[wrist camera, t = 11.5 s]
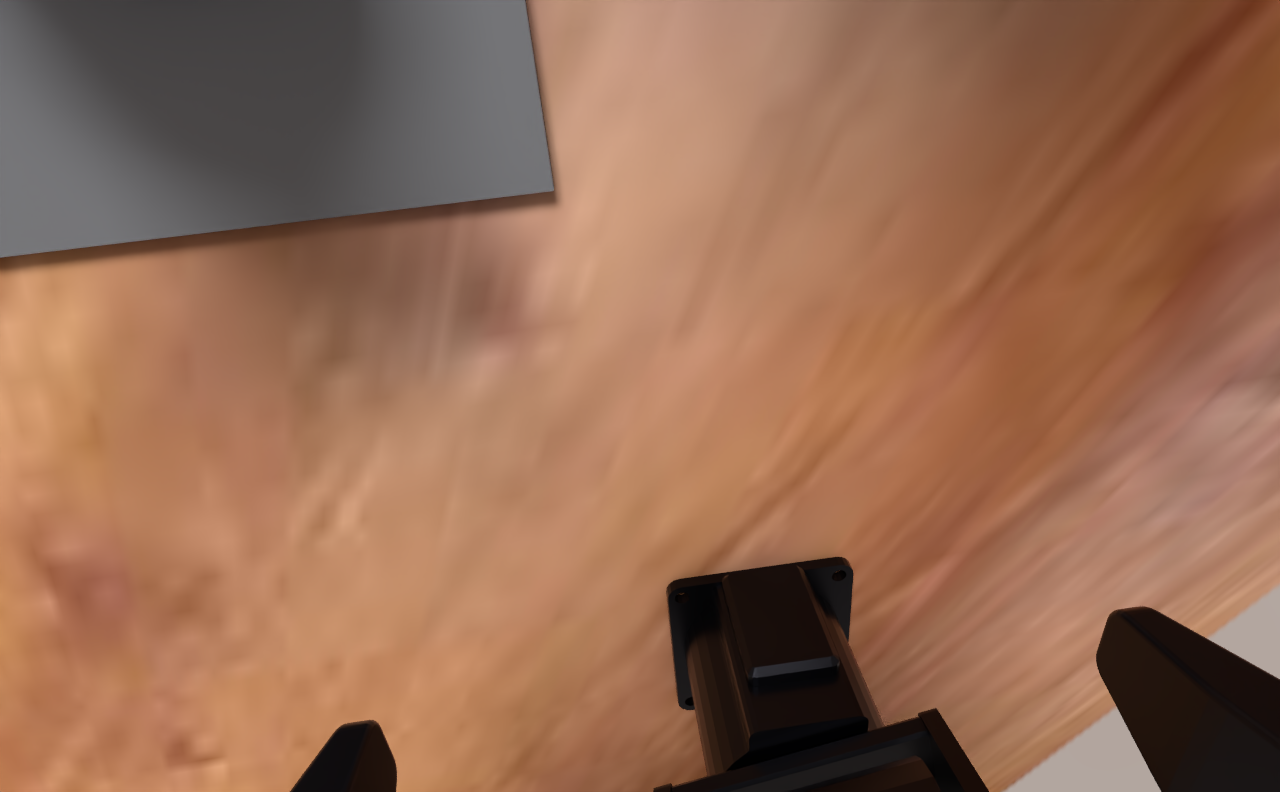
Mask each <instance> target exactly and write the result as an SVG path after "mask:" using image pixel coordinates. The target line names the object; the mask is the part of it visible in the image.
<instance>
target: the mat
mask: <svg viewBox="0 0 1280 792" xmlns="http://www.w3.org/2000/svg"><path fill="white" fill-rule="evenodd" d="M549 191H554V184H553V177H552V170H551V164H550V157H549V151H548V144H547V138H546V131H545V124H544V118H543V111H542V105H541V98H540V92H539V85H538V79H537V72H536V65H535V59H534V52H533V46H532V39H531V33H530V26H529V19H528V13H527V6H526V0H1V1H0V258H1V257H9V256H17V255H26V254H34V253H42V252H51V251H59V250H67V249H76V248H84V247H92V246H101V245H109V244H117V243H125V242H134V241H142V240H150V239H159V238H167V237H175V236H184V235H192V234H200V233H209V232H217V231H225V230H234V229H242V228H250V227H258V226H267V225H275V224H283V223H292V222H300V221H308V220H317V219H325V218H333V217H342V216H350V215H358V214H367V213H375V212H383V211H391V210H400V209H408V208H416V207H425V206H433V205H441V204H450V203H458V202H466V201H475V200H483V199H491V198H500V197H508V196H516V195H524V194H533V193H541V192H549Z"/></svg>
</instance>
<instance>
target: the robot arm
mask: <svg viewBox="0 0 1280 792" xmlns="http://www.w3.org/2000/svg"><path fill="white" fill-rule="evenodd" d="M839 570H840V571H839ZM836 571H839V572H837V573H835V572H836ZM852 585H853V570H852V568H851V566H850V564H849V562H848V561H847V560H846V559H845V558H842V557H833V558H826V559H819V560H812V561H804V562H797V563H790V564H783V565H776V566H769V567H762V568H755V569H748V570H741V571H733V572H726V573H719V574H712V575H705V576H698V577H691V578H684V579H678V580H675V581H673V582H671V583H670V584H669V585H668V587H667V591H666V593H667V602H668V612H669V622H670V631H671V641H672V650H673V660H674V670H675V679H676V689H677V697H678V703H679V706H680V707H681V708H683V709H686V710H694V709H695V712H696V717H697V723H698V728H699V733H700V739H701V744H702V749H703V755H704V760H705V765H706V771H707V777H703V778H700V779H696V780H693V781H689V782H686V783H682V784H679V785H675V786H672V784H671V783H670V784H667V785H663V786H660V787H656V788H654V790H653V792H989V791H988V789H987V787H986V786H985V784H984V783H983V781H982V779H981V778H980V776H979V775H978V773H977V772H976V770H975V768H974V767H973V765H972V764H971V762H970V761H969V759H968V757H967V756H966V754H965V753H964V751H963V750H962V748H961V746H960V745H959V743H958V742H957V740H956V738H955V737H954V735H953V734H952V732H951V731H950V729H949V727H948V726H947V724H946V723H945V721H944V720H943V718H942V716H941V715H940V713H939V712H938V710H937V709H936V708H935V709H931V710H928V711H924V712H921V713H918V717H915V718H912V719H908V720H905V721H901V722H898V723H894V724H891V725H887V726H884V724H883V722H882V720H881V717H880V715H879V713H878V710H877V708H876V706H875V704H874V701H873V699H872V697H871V694H870V692H869V690H868V687H867V685H866V683H865V680H864V678H863V676H862V673H861V671H860V669H859V667H858V664H857V662H856V660H855V657H854V655H853V653H852V650H851V648H850V646H849V643H848V640H849V626H850V613H851V599H852ZM679 593H685V594H682V595H677V594H679ZM1096 662H1097V667H1098V670H1099V673H1100V675H1101V677H1102V679H1103V681H1104V683H1105V685H1106V687H1107V689H1108V691H1109V693H1110V695H1111V697H1112V698H1113V700H1114V702H1115V704H1116V706H1117V708H1118V710H1119V712H1120V714H1121V716H1122V718H1123V720H1124V722H1125V723H1126V725H1127V727H1128V729H1129V731H1130V733H1131V735H1132V737H1133V739H1134V741H1135V743H1136V745H1137V747H1138V748H1139V750H1140V752H1141V754H1142V756H1143V758H1144V760H1145V762H1146V764H1147V765H1148V768H1149V770H1150V772H1151V773H1152V775H1153V777H1154V779H1155V781H1156V782H1157V784H1158V786H1159V788H1160V790H1161V792H1280V679H1278V678H1276V677H1274V676H1273V675H1271V674H1269V673H1267V672H1266V671H1264V670H1262V669H1260V668H1259V667H1257V666H1255V665H1253V664H1251V663H1250V662H1248V661H1246V660H1244V659H1242V658H1241V657H1239V656H1237V655H1235V654H1233V653H1232V652H1230V651H1228V650H1226V649H1224V648H1223V647H1221V646H1219V645H1217V644H1215V643H1214V642H1212V641H1210V640H1208V639H1207V638H1205V637H1203V636H1201V635H1199V634H1198V633H1196V632H1194V631H1192V630H1190V629H1189V628H1187V627H1185V626H1183V625H1181V624H1180V623H1178V622H1176V621H1174V620H1172V619H1171V618H1169V617H1167V616H1165V615H1164V614H1162V613H1160V612H1158V611H1156V610H1154V609H1152V608H1149V607H1132V608H1126V609H1119V610H1115V611H1113V612H1112V613H1111V614H1110V615H1109V617H1108V619H1107V622H1106V625H1105V628H1104V631H1103V634H1102V638H1101V641H1100V644H1099V647H1098V650H1097V654H1096ZM396 785H397V769H396V763H395V760H394V757H393V755H392V752H391V750H390V748H389V745H388V743H387V741H386V738H385V736H384V734H383V732H382V729H381V727H380V725H379V724H378V723H377V722H376V721H374V720H366V721H359V722H353V723H347V724H344V725H342V726H340V727H339V728H338V729H337V730H336V731H335V732H334V733H333V735H332V736H331V737H330V739H329V740H328V741H327V743H326V744H325V745H324V747H323V748H322V749H321V751H320V752H319V753H318V755H317V756H316V757H315V759H314V760H313V761H312V763H311V764H310V765H309V767H308V768H307V769H306V771H305V772H304V773H303V775H302V776H301V778H300V779H299V780H298V782H297V783H296V784H295V786H294V787H293V788H292V790H291V791H290V792H396Z"/></svg>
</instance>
